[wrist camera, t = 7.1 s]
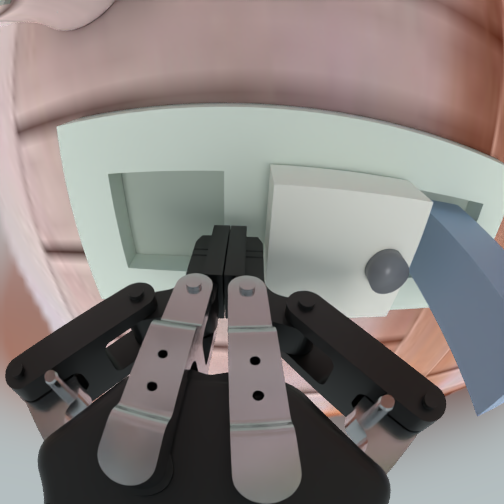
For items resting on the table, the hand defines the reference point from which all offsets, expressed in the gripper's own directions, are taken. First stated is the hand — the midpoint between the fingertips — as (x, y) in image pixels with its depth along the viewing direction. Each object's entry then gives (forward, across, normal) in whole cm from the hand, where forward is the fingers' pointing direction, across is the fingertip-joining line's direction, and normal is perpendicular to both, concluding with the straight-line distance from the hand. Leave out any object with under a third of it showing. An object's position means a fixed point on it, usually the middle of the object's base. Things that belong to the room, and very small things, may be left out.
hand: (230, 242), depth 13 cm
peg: (+3, -13, 0) cm, 13 cm away
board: (+4, -5, 0) cm, 6 cm away
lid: (+1, -5, 0) cm, 5 cm away
